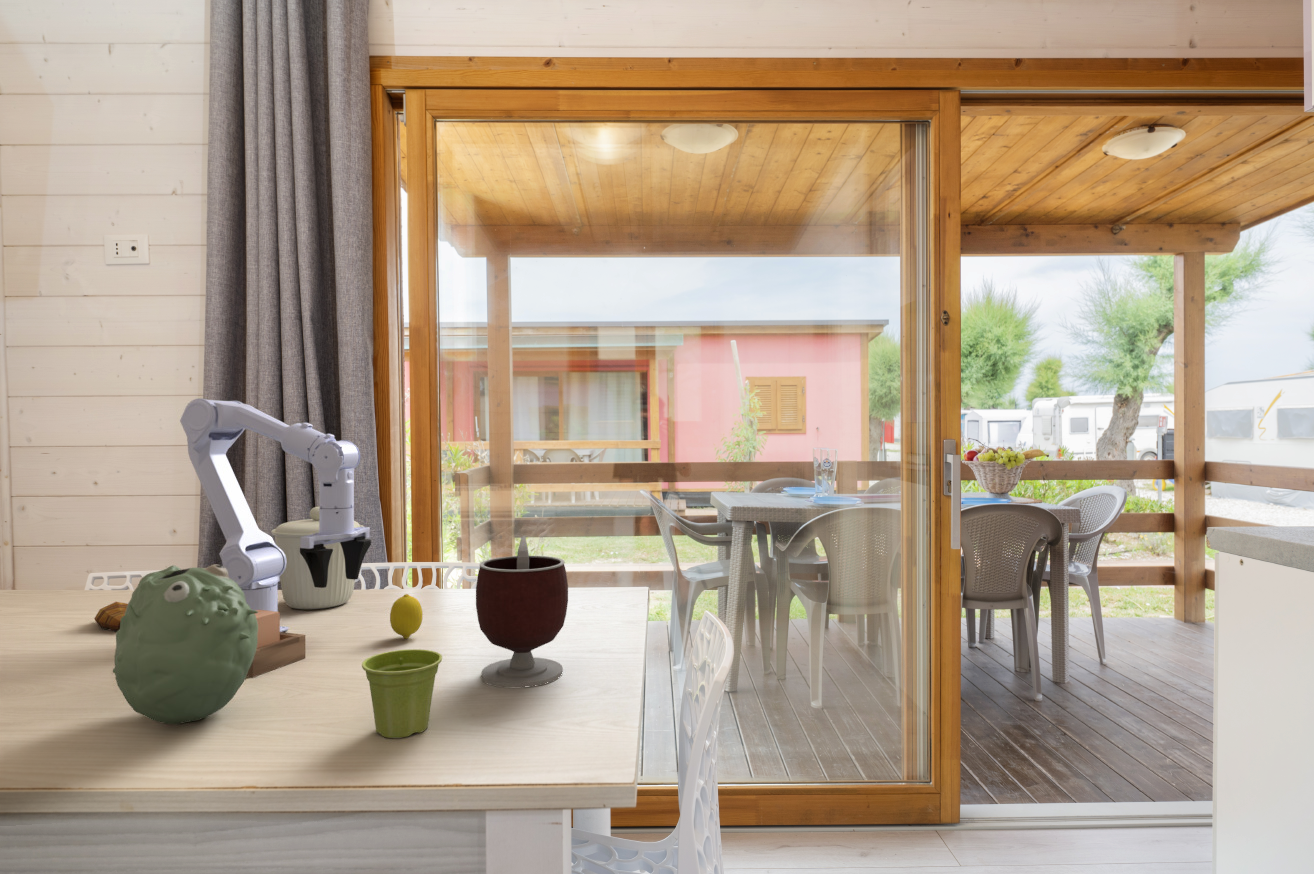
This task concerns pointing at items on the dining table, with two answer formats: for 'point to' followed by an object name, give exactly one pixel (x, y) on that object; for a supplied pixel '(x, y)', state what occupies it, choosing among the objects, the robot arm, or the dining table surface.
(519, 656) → the mate gourd
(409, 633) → the lemon
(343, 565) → the canister
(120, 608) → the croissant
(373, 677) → the plant pot
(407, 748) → the dining table surface
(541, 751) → the dining table surface
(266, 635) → the block
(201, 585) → the green pufferfish toy
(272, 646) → the walnut base
